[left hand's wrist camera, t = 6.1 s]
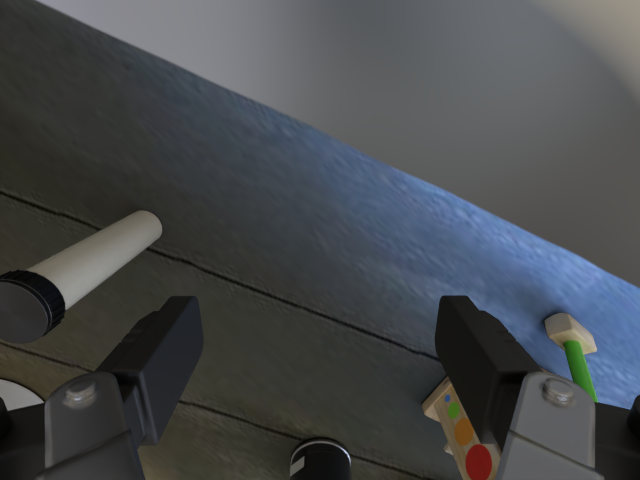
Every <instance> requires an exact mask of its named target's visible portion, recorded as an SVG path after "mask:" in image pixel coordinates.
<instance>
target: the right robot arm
mask: <svg viewBox="0 0 640 480" xmlns="http://www.w3.org/2000/svg"><path fill="white" fill-rule="evenodd" d="M0 397H1V398H2V399H3V400H4V403H5V405H6V408H7V410H8V411H9V410H14V409H18V408H22V407H27V406H31V405H36V404H40V403H44V402H43V401H42V400H41V399H40V398H39V397H38V396H37V395H35V394H34V393H33V392H31V391H30V390H28V389H26V388H24V387H22V386H20V385H18V384H15V383H13V382H9V381H6V380H1V379H0Z"/></svg>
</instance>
